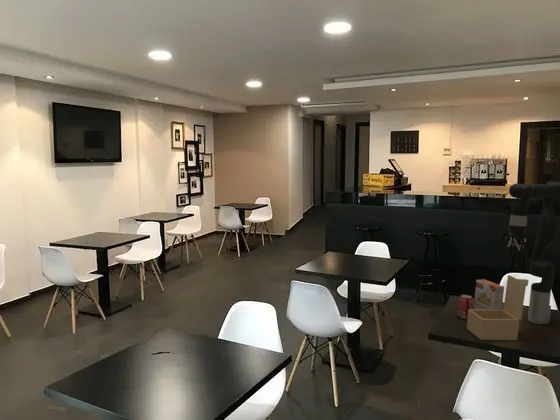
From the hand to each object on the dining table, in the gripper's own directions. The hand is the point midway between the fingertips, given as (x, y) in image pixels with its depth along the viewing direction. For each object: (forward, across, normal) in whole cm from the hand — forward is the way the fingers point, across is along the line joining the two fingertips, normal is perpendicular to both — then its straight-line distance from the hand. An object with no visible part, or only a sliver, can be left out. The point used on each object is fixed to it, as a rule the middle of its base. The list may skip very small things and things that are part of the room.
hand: (514, 256), depth 219 cm
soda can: (+38, +16, +15) cm, 44 cm away
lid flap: (+19, -6, +3) cm, 20 cm away
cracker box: (+38, +12, +5) cm, 40 cm away
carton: (+38, -6, +12) cm, 40 cm away
